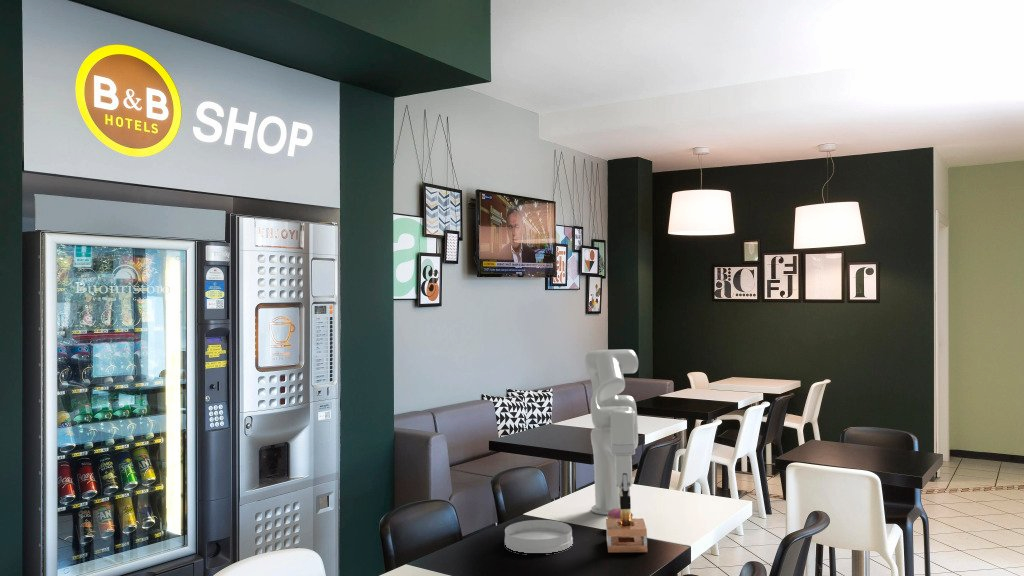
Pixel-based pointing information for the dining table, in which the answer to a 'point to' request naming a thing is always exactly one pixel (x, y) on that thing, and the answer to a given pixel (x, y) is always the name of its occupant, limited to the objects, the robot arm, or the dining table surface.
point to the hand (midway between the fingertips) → (625, 506)
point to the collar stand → (626, 536)
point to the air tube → (625, 513)
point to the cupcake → (615, 514)
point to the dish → (538, 536)
